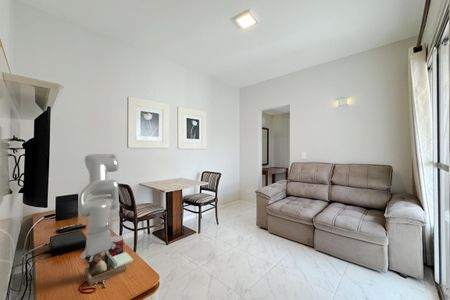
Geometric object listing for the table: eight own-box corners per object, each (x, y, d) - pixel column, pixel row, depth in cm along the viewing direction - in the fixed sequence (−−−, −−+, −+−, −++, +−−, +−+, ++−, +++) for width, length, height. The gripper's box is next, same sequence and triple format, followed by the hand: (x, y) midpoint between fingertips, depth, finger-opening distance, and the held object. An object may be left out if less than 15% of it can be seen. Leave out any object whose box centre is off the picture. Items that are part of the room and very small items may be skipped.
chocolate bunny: (103, 264, 96) (103, 244, 97) (108, 270, 91) (108, 249, 91) (90, 269, 92) (90, 248, 92) (94, 275, 87) (95, 254, 87)
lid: (108, 259, 99) (108, 255, 99) (125, 253, 105) (125, 249, 105) (114, 268, 91) (114, 263, 92) (133, 260, 98) (133, 256, 98)
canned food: (109, 255, 110) (109, 236, 110) (124, 252, 112) (124, 234, 113) (105, 262, 102) (106, 242, 103) (122, 259, 105) (122, 239, 105)
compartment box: (84, 274, 92) (84, 268, 92) (118, 261, 103) (118, 256, 103) (89, 286, 84) (89, 279, 84) (125, 271, 95) (125, 265, 95)
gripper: (115, 222, 101) (115, 255, 100) (76, 232, 88) (75, 270, 88) (120, 225, 96) (120, 261, 95) (78, 236, 83) (78, 277, 83)
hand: (98, 265), depth 92 cm, fingers closed on chocolate bunny, 5 cm apart
